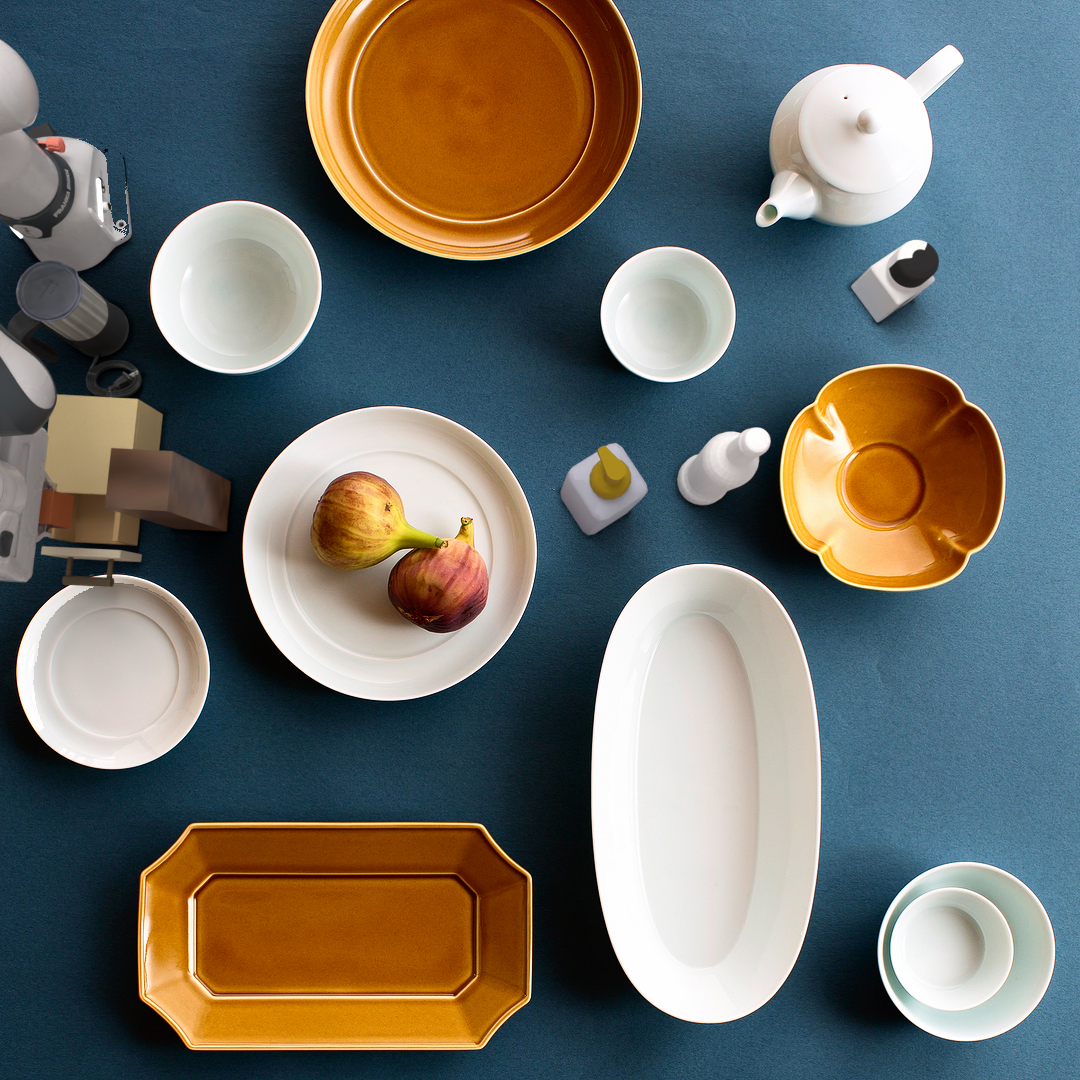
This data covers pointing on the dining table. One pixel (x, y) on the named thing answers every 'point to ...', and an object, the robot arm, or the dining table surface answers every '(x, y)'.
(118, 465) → the stand
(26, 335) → the milk frother
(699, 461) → the bottle
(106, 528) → the drawer
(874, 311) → the container
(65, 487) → the cabinet
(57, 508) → the block
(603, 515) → the soap bottle
